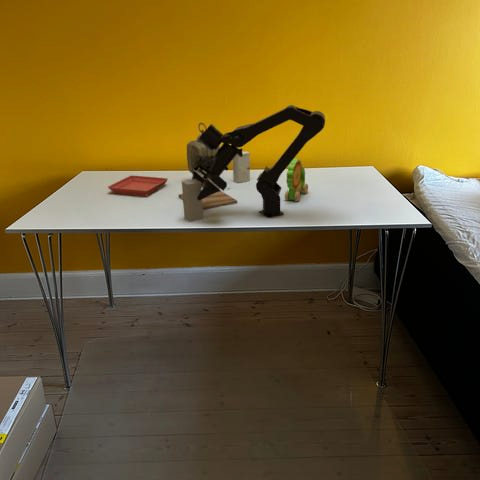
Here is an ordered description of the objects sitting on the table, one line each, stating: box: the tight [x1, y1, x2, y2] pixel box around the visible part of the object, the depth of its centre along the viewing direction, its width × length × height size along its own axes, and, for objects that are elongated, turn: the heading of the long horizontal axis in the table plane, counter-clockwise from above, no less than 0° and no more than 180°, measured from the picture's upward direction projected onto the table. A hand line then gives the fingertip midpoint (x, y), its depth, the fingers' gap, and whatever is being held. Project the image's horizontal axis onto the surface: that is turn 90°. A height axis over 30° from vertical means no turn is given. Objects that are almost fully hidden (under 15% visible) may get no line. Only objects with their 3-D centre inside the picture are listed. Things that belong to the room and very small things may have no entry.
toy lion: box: [284, 158, 309, 202], centre depth 177 cm, size 16×5×15 cm, turn 155°
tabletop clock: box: [186, 122, 221, 179], centre depth 194 cm, size 14×9×25 cm, turn 30°
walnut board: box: [178, 190, 238, 211], centre depth 179 cm, size 18×16×1 cm
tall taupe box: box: [181, 178, 204, 223], centre depth 160 cm, size 4×5×13 cm
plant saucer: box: [107, 174, 168, 197], centre depth 193 cm, size 18×18×3 cm
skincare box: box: [232, 150, 251, 184], centre depth 199 cm, size 6×4×12 cm
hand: (192, 195), depth 159 cm, fingers open, 9 cm apart
